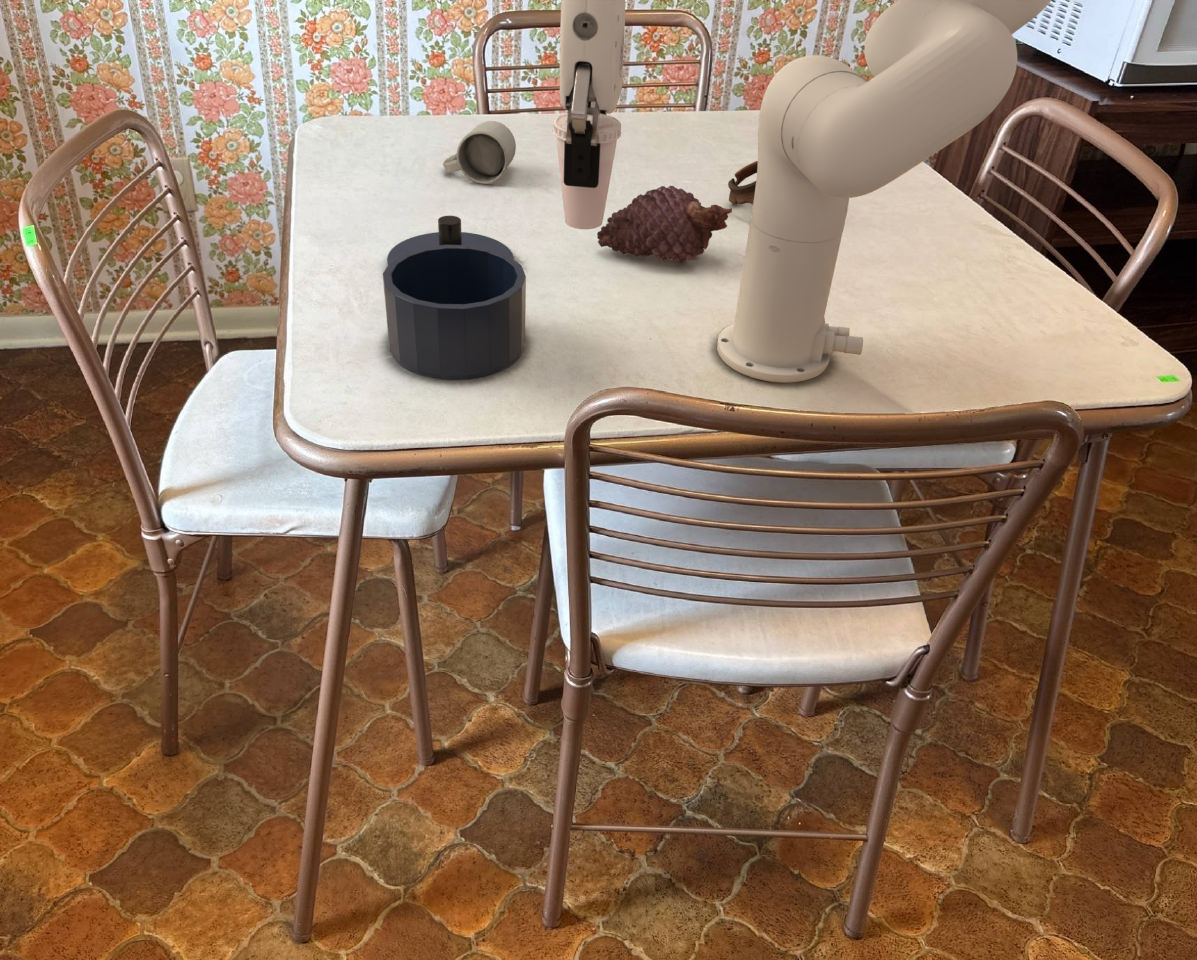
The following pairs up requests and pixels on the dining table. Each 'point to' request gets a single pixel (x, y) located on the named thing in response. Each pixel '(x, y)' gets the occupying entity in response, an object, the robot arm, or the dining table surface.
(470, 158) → the ceramic mug
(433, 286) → the pot
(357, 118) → the dining table surface
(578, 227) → the smoothie
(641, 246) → the pine cone
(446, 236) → the pot lid
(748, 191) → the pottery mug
